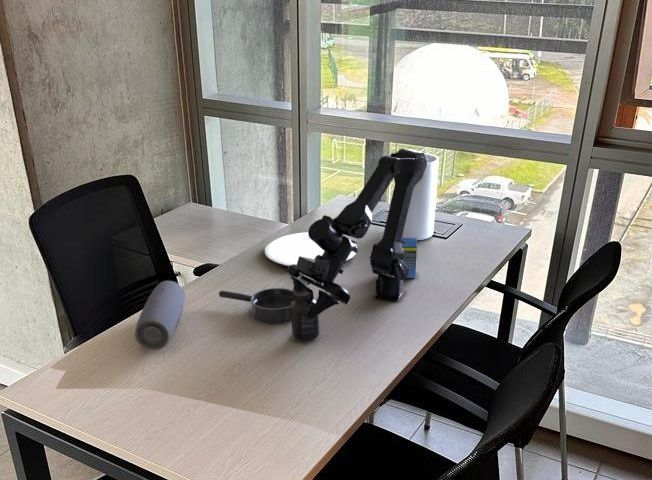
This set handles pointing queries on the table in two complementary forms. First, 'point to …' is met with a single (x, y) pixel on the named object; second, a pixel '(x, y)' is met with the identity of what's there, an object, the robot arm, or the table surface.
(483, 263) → the table surface
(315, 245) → the plate
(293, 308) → the supplement bottle
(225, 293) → the pan handle
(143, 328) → the bluetooth speaker
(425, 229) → the cylinder vase
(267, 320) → the pan
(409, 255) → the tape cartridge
